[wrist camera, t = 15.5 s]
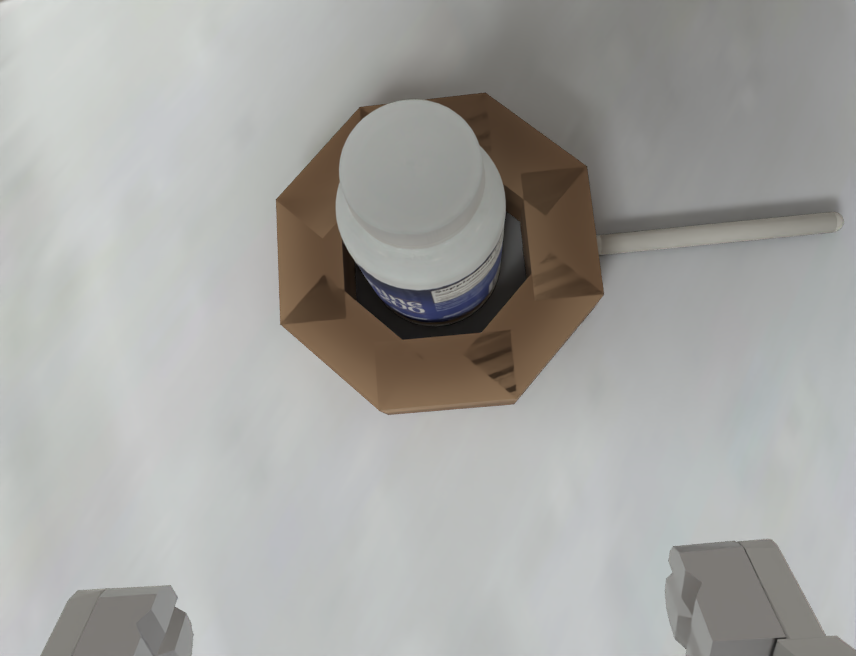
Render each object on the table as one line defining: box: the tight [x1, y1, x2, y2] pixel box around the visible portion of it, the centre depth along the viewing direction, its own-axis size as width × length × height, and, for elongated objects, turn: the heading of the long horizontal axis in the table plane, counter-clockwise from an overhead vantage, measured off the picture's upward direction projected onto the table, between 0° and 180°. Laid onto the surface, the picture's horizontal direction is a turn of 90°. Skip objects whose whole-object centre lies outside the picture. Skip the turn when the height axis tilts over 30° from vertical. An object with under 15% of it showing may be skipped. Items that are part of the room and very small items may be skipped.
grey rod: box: [596, 212, 844, 255], centre depth 27 cm, size 10×1×1 cm, turn 94°
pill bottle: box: [336, 99, 506, 326], centre depth 23 cm, size 5×5×10 cm
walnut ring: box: [276, 93, 604, 415], centre depth 27 cm, size 12×12×2 cm
